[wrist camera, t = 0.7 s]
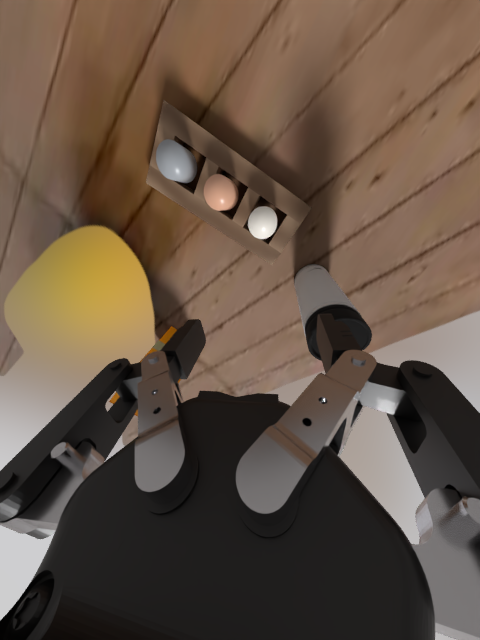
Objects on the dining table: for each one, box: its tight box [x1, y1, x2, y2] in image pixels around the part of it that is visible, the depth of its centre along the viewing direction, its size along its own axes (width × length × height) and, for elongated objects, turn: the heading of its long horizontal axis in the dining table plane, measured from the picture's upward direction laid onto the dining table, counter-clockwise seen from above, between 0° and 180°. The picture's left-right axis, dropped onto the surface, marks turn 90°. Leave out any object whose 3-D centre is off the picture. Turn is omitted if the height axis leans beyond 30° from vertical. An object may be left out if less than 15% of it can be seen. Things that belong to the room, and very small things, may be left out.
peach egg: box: [204, 174, 238, 211], centre depth 27 cm, size 4×4×4 cm
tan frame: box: [146, 100, 312, 265], centre depth 30 cm, size 10×24×3 cm, turn 60°
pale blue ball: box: [156, 139, 197, 183], centre depth 26 cm, size 4×4×4 cm
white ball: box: [248, 206, 277, 239], centre depth 27 cm, size 4×4×4 cm
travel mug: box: [294, 264, 372, 361], centre depth 27 cm, size 6×7×20 cm
